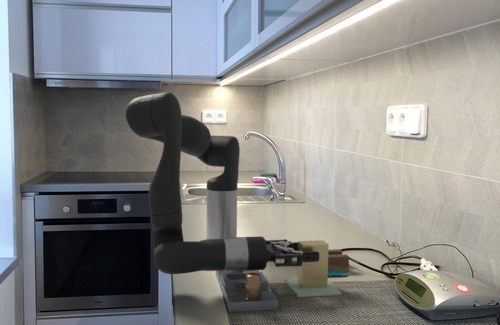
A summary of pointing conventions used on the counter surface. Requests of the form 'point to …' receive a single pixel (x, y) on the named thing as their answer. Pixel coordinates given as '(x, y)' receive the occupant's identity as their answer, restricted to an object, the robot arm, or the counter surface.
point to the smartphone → (336, 274)
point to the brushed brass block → (313, 265)
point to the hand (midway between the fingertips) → (313, 251)
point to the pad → (312, 289)
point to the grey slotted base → (246, 291)
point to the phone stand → (338, 261)
